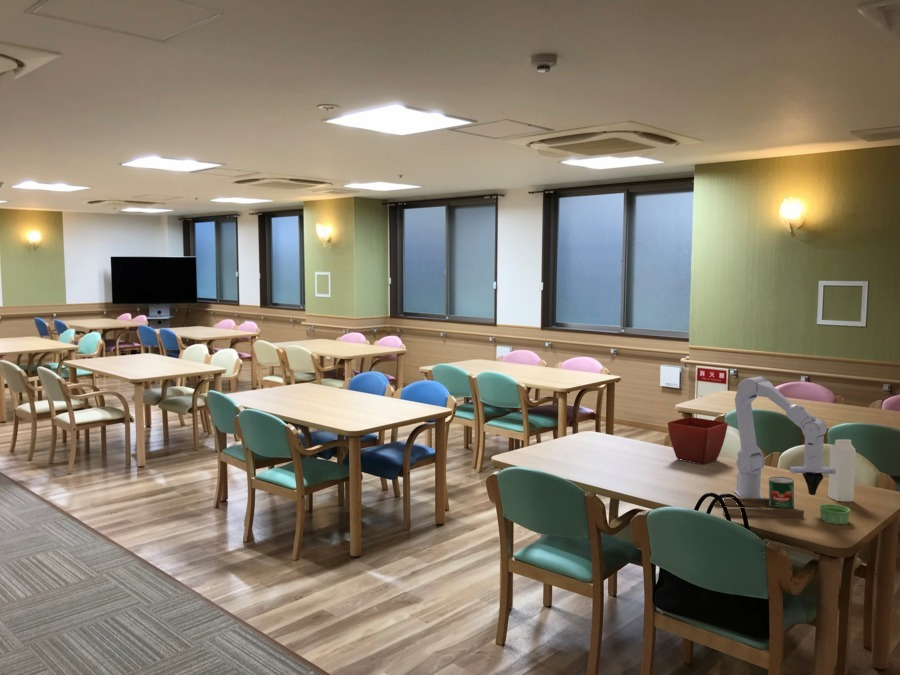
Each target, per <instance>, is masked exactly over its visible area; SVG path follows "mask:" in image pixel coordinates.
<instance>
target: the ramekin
mask: <svg viewBox="0 0 900 675" xmlns="http://www.w3.org/2000/svg"><path fill="white" fill-rule="evenodd" d="M819 509H820V519H821V520H822V521H823V520H824V521H823V522H825V521H826V522H825V523H827V522H829V523H828V524H831V523H833V524H832V525H838V524H843V525H846V524H848V523H849V521H850V514H851V509H850V508H849V507H848V506H844V505H841V504H834V503H823V504H820V505H819Z"/></svg>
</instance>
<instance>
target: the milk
mask: <svg viewBox="0 0 900 675" xmlns="http://www.w3.org/2000/svg"><path fill="white" fill-rule="evenodd" d="M856 454H857V450H856V448H855V447H854V446H853V443H852V439H845V438H844V439H835V440H834V443H833V444H831V445H830V449H829V466H828V467H834V468H835V469H836V474H828V489H827V490H828V493H827V497H828V496H829V497H828V498H830V499H832V500H833V501H835V500H836V501H835V502H837V501H841V502H854V497H855V496H854V491H855V476H856V475H855V471H856V456H857V455H856Z"/></svg>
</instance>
